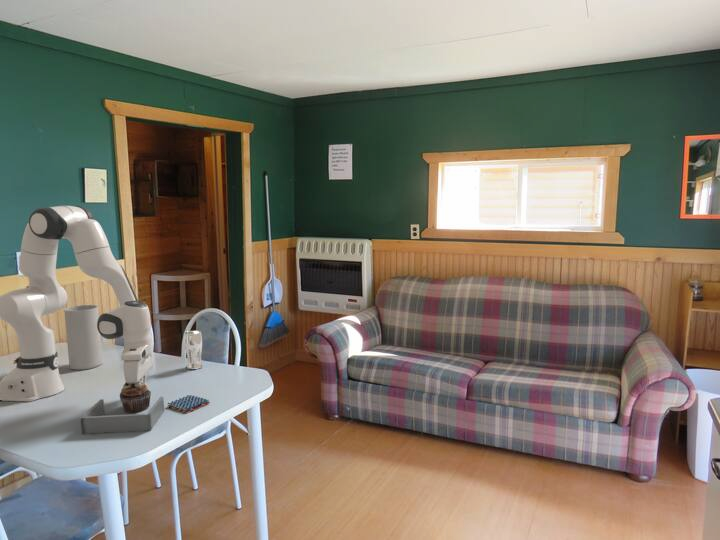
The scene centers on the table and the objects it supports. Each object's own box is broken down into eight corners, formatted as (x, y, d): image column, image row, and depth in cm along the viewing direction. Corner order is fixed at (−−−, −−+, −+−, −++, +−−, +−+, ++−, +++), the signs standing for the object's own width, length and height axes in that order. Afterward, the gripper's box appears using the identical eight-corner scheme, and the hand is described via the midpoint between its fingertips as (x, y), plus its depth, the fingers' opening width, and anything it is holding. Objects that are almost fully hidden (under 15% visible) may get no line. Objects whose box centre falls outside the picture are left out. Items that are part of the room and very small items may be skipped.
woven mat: (186, 415, 173) (186, 409, 173) (165, 409, 179) (165, 403, 178) (211, 404, 182) (211, 399, 181) (190, 399, 187) (190, 393, 187)
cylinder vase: (108, 364, 228) (104, 306, 224) (80, 372, 217) (74, 312, 214) (91, 359, 235) (87, 304, 231) (63, 367, 224) (58, 309, 221)
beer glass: (198, 370, 217) (196, 334, 215) (182, 369, 218) (180, 334, 216) (206, 365, 224) (204, 330, 222) (191, 364, 225) (189, 330, 223)
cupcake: (152, 410, 176) (150, 381, 175) (120, 415, 172) (118, 386, 171) (151, 400, 185) (149, 373, 183) (120, 405, 181) (118, 377, 180)
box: (81, 434, 159) (80, 418, 158) (101, 414, 174) (100, 399, 173) (150, 430, 161) (149, 414, 160) (164, 411, 176) (163, 396, 175)
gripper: (138, 340, 192) (141, 377, 194) (118, 357, 171) (122, 398, 173) (156, 339, 192) (159, 376, 194) (139, 356, 172) (142, 397, 174)
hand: (141, 387), depth 184 cm, fingers closed
